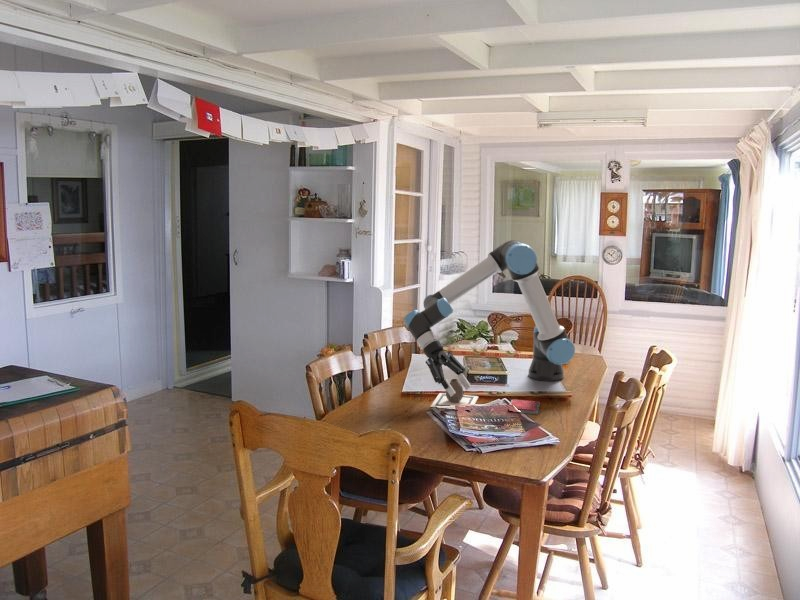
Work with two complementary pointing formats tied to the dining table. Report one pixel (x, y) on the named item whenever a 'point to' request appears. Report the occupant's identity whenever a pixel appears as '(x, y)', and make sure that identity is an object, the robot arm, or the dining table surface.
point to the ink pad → (526, 406)
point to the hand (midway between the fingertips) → (461, 391)
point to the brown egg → (457, 389)
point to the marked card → (443, 401)
